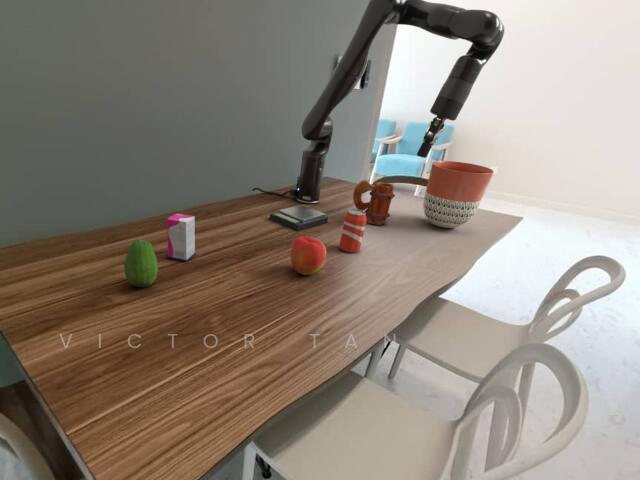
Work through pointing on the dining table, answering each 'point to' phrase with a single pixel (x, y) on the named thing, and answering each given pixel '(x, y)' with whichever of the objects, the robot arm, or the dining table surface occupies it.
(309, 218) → the scale pan
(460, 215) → the planter
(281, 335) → the dining table surface
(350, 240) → the beverage can
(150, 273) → the avocado
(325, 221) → the scale
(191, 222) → the supplement box
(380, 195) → the mug
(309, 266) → the apple
